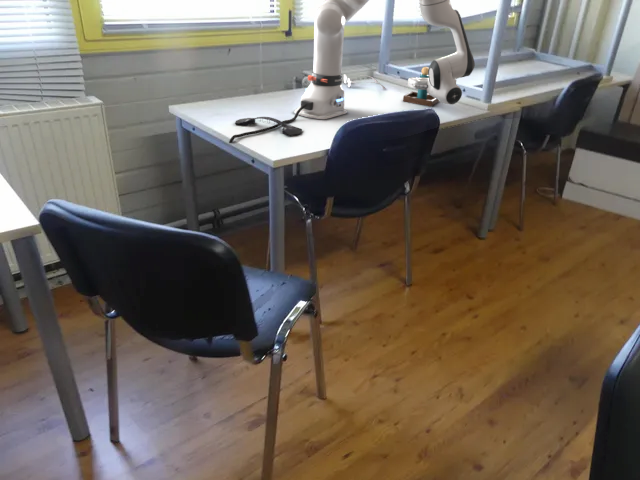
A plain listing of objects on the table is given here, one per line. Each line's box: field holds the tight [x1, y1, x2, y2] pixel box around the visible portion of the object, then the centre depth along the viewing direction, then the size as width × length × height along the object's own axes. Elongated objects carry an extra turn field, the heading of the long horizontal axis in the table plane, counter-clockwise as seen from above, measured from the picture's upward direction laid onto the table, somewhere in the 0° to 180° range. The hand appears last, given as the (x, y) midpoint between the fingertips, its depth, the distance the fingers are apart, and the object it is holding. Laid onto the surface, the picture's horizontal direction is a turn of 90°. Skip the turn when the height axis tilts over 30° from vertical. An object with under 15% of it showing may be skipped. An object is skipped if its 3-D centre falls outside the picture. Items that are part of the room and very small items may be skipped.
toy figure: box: [417, 66, 429, 100], centre depth 243 cm, size 4×4×14 cm
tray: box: [402, 91, 440, 107], centre depth 246 cm, size 11×13×2 cm
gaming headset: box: [234, 116, 303, 137], centre depth 192 cm, size 9×25×3 cm, turn 67°
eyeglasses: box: [343, 74, 387, 90], centre depth 264 cm, size 15×18×4 cm
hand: (423, 79), depth 242 cm, fingers open, 8 cm apart
